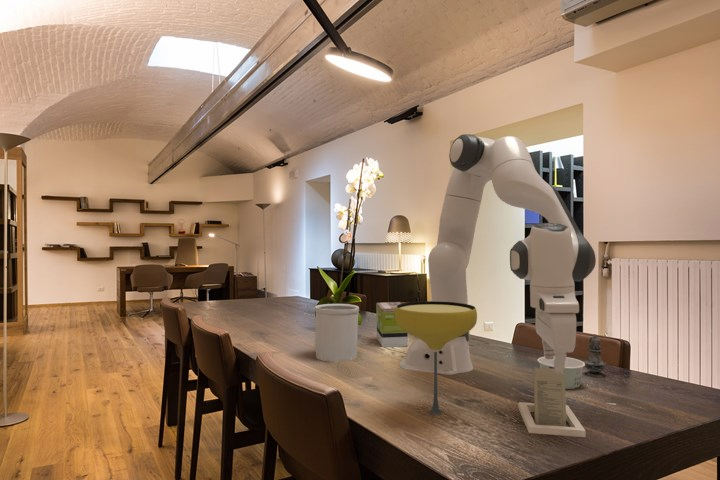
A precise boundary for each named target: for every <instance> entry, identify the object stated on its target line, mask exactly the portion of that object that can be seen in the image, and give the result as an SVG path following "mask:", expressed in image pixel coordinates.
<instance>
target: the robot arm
mask: <svg viewBox="0 0 720 480" xmlns="http://www.w3.org/2000/svg"><path fill="white" fill-rule="evenodd" d="M448 156H449V157H448V158H449V162H450V164H451V166H452V167H453V168H454V169H453V171H452V173H451V174H450V175H451V176H450V178H449V180H448V184H447V187H446V190H445V195H444V199H443V203H442V209H441V213H440V217H439V224H438V225H439V226H438V234H437V242H436V245H435V246H434V247H433V248H432V249H431V250H430V252H429V254H428V260H427V262H428V274H429V275H428V276H429V278H428V279H429V288H430V296H431V301H439V302H455V303H463V304H468V301H469V299H468V289H467V288H468V287H467V268H468V265H469V262H470V258H471V253H472V247H473V242H474V235H475V231H476V225H477V222H478V217H479V212H480V209H481V204H482V199H483V194H484V189H485V186H486V184H487V183H488V182H489V181H491V184H492V187H493V191H494V192H495V194H496V196H497V197H498V198H499V199H500V200H501V201H502V202H503V203H505V204H507V205H508V206H509V205H510V207H515V208H519V209H523V210H528V211H530V212H533V213H537V214H538V215H540V216H542V217H543V218H545V220H546V221H547V222H544V223H543V222H542V223H536V224H534V225H532V226H531V229H530V232H529V234H528V236H527V237H525V238H524V239H521V240H517V242H515V243H514V245H513V246H512V247H511V248H510V250H509V266H510V268H509V269H510V271H511V272H512V273H513V274H514V275H515V277H517V278H519V279H520V280H525V281H530V283H529V292H530V293H529V294H530V295H529V297H530V298H529V299H530V304H529V305H530V307H531V308H533V309H535V331H536V334H537V335H538V336H539V337H540V338H541V344H542V348H543V357H545V358H546V359H553V358H554V368H555V370H557V371H564V369H565V359H566V357H567V353H573V352H574V351H575V349H576V341H577V340H576V339H577V315H576V314H578V313H580V304H579V301H578V300H577V298H576V292H575V290H576V289H575V287H576V286H575V282H582V281H583V280H585V279H586V278H588V277H589V276H590V274H591V273H592V272H593V271H594V269H595V267H596V262H597V257H596V252H595V250H594V248H593V247H592V245H591V243H590V242H589V241H588V240H587V238H586V237H585V236H584V235H583V233H582V231H581V230H580V228H579V227H578V225H577V223H576V221H575V219H574V218H573V216H572V214H571V212H570V211H569V209H568V207H567V205H566V203H565V201H564V199H563V198H562V197H561V194H560V192H559V191H558V190H557V188H555V187H554V186H553V185H551V184H549V183H548V182H546V181H545V180H544V179H543V178H542V177H541V175H540V174H539V173H538V172H537V170H536V167H535V164H534V162H533V159H532V157H531V154H530V151H529V150H528V149H527V146H526V145H525V143H524V142H523V141H522V140H521V139H520V138H519V137H516V136H513V135H506V136H505V135H504V136H503V137H500V138H498V139H494V138H488V137H484V136H483V137H482V136H477V135H475V134H467V133H465V134H460V135H458V136H457V138H455V139H454V140H453V142H452V144H451V146H450V149H449V155H448ZM468 305H469V304H468ZM469 341H470V331H469V332H467V333H465V334H463V335H462V336H459V337H457V338H455V339H453V340H451V341H449V342H447V343H446V344H445V345H444V346H443V348H442V349H441V350H440V351H439V352H437V375H439V374H441V375H447V376H452V375H456V374H460V373H467V372H471V371H473V370H474V365H473V364H472V359H471V354H470V353H471V352H470V347H469V346H470V345H469ZM554 356H555V357H554ZM399 367H400V369H401V370H403V371H404V370H405V371H413V372H420V373H430V374H434V352H433V351H431V350H430V348H429V347H428V345H427V344H426V343H425V342H424V341H422V340H420V339H419V338H417V339H416V340H415V341H413V342H412V343H411V344H410V345H409V347H408V349H407V352H406V357H404V358H402V359H401V360H400V362H399Z"/></svg>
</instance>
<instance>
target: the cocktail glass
mask: <svg viewBox="0 0 720 480" xmlns="http://www.w3.org/2000/svg"><path fill="white" fill-rule="evenodd" d="M395 319H396V322H397V324H398V325H399V326H400V327H401V328H402V329H403V330H404V331H406V332H407V333H408V334H409V335H411V336H413V337H415V338H417V339H418V338H419V339H420V340H422V341H424V342H425V343H426V344H427V345H428V347H429V348H430V350H431V351H433V352H434V373H433V376H434V377H433V378H434V379H433V383H434V384H433V401H432V402H433V404H432V408H431V409H429V410H428V413H430V414H433V415H441V414H443V413H444V411H443V410H441V409H440V406H439V399H438V373H437V352H439V351H440V350H441V349H442V348H443V346H444V345H445V344H446V343H447V342H449V341H451V340H453V339H455V338H457V337H459V336H462V335H463V334H465V333H467V332H470V331H471V330H472V329H474V328H475V326H476V324H477V321H478V313H477V307H476V306H474V305H471V304H463V303H455V302H439V301H430V300H428V301H426V300H425V301H424V300H423V301H412V302H411V301H410V302H404V303H401V304H399V305H397V306H396V310H395Z"/></svg>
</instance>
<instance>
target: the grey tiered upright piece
mask: <svg viewBox="0 0 720 480" xmlns="http://www.w3.org/2000/svg"><path fill="white" fill-rule="evenodd" d="M588 342H589V348H587V350H588V359H586V360H584V361H583V362H584V363H585V366H584V367H585V368H586V369H587V370H588V371H585V373H584V375H585V376H589V377H592V378H604V377H606V375H605V374H604V373H603V371H604V370H605V367H606V365H607V363H606V362H604V361H603V360H602V357H601V356H602V354H601V353H602V351H603V350H602V349H601V339H600V338H599V337H597V335H596V333H594V334H593V336H592V337H590V338H589V341H588Z"/></svg>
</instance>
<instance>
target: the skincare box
mask: <svg viewBox="0 0 720 480" xmlns="http://www.w3.org/2000/svg"><path fill="white" fill-rule="evenodd" d="M532 370H533V401H534V402H533V403H534V410H535V412H534V422H535V425H549V426H564V427H567V420H566V405H567V404H566V400H567V399H566V389H565V373H564V371H557V370H555V368H540V367H535V366H534V367H533V369H532Z"/></svg>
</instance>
